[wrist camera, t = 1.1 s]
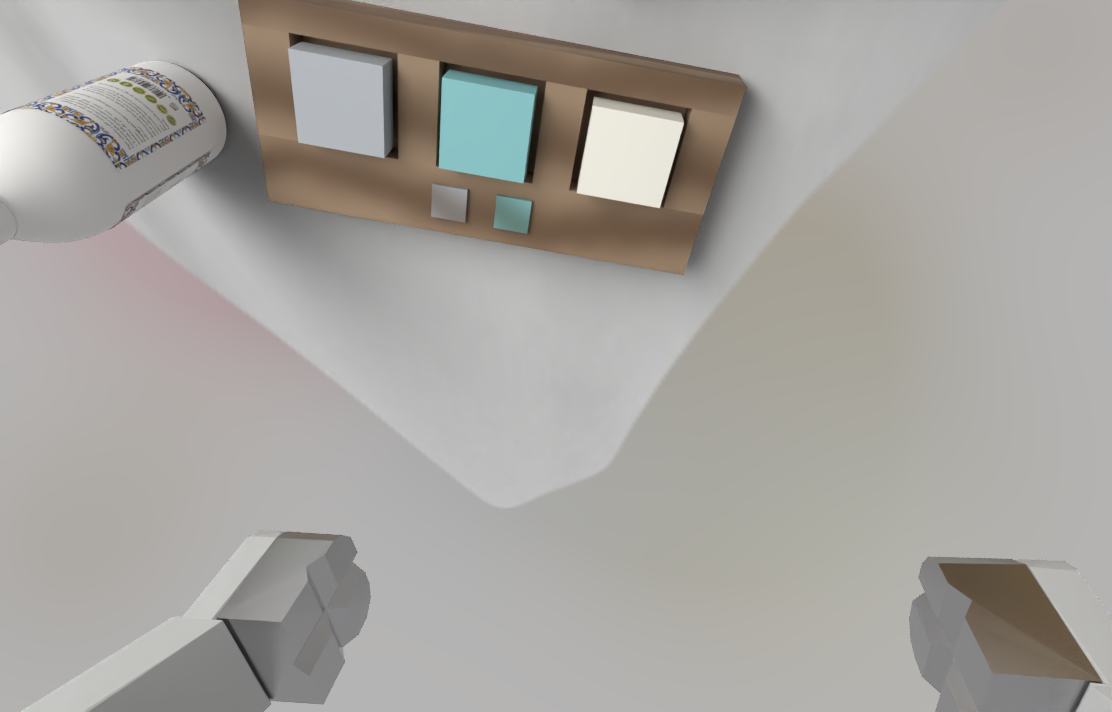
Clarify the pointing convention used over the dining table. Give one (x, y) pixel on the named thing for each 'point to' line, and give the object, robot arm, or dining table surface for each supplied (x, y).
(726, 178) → the dining table surface
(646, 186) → the cream key
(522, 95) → the teal key
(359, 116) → the grey key
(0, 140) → the bath foam
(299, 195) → the keypad
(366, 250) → the dining table surface
